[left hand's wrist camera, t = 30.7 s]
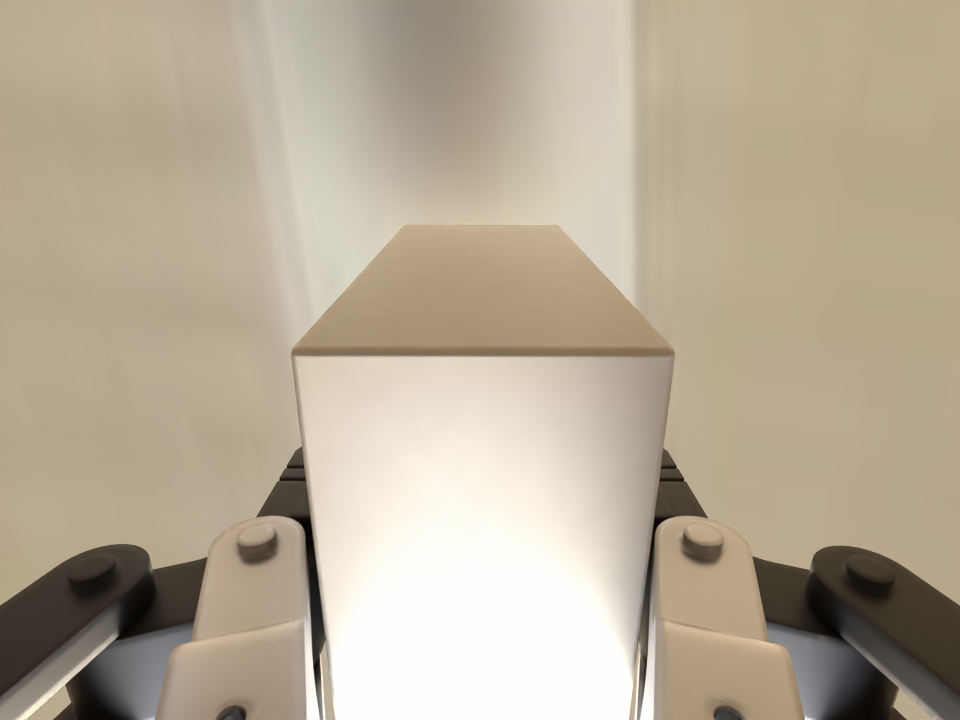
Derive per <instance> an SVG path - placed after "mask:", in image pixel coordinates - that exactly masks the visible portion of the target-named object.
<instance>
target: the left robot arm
mask: <svg viewBox="0 0 960 720" xmlns="http://www.w3.org/2000/svg"><path fill="white" fill-rule="evenodd" d="M324 642H325V631H324V623H323V615H322V606H321V598H320V590H319V582H318V573H317V565H316V557H315V549H314V540H313V532H312V524H311V516H310V508H309V499H308V491H307V483H306V475H305V466H304V458H303V450H302V447H301V448H299V449H298V450H296V451H295V453H294V455H293V456H292V458H291V460H290V461H289V463H288V465H287V469H285V470H284V471H283V473H282V475H281V476H280V481H278V482H277V483H276V485H275V487H274V488H273V490H272V492H271V493H270V495H269V497H268V498H267V500H266V502H265V503H264V505H263V507H262V508H261V510H260V512H259V513H258V515H257V517H256V518H252V519H249V520H246V521H243V522H241V523H238V524H236V525H234V526H232V527H230V528H229V529H227V530H226V531H224V532H223V533H222V534H221V535H219V536H218V537H217V538H216V539H215V541H214V542H213V543H212V545H211V547H210V549H209V552H208V557H206V558H203V559H200V560H196V561H192V562H187V563H182V564H178V565H173V566H168V567H163V568H159V569H154V570H153V569H152V565H151V561H150V557H149V555H148V553H147V552H146V551H145V550H144V549H142V548H141V547H138V546H135V545H129V544H116V545H108V546H103V547H99V548H95V549H92V550H89V551H86V552H83V553H81V554H79V555H76V556H74V557H72V558H70V559H68V560H66V561H65V562H63V563H61V564H60V565H58V566H57V567H55V568H54V569H52V570H51V571H50V572H48V573H47V574H45V575H44V576H42V577H41V578H39V579H38V580H37V581H35V582H34V583H32V584H31V585H29V586H28V587H27V588H25V589H24V590H22V591H21V592H19V593H18V594H16V595H15V596H14V597H12V598H11V599H9V600H8V601H6V602H5V603H4V604H2V605H1V606H0V720H26V719H27V718H28V717H29V716H30V715H31V714H33V713H34V712H35V711H36V710H37V709H38V708H39V707H40V706H41V705H43V704H44V703H45V702H46V701H47V700H48V699H49V698H50V697H51V696H53V695H54V694H55V693H56V692H57V691H58V690H59V689H60V688H61V687H63V686H64V685H66V688H67V691H68V694H69V697H70V700H71V704H70V705H68V706H67V707H66V708H65V709H64V710H63V711H62V712H61V713H60V714H59V715H58V716H57V717H56V718H55V719H54V720H325V709H324V691H323V674H322V663H321V655H320V654H321V652H322V649H323V646H324ZM639 643H640V646H641V647H640V655H639V663H638V674H637V691H636V709H635V720H906V719H905V718H904V717H903V716H902V715H901V714H900V713H899V712H898V711H897V710H896V709H895V708H894V707H893V705H894V703H895V700H896V697H897V694H898V691H899V688H900V689H901V690H902V691H903V692H904V693H905V694H906V695H908V696H909V697H910V698H911V699H912V700H913V701H914V702H915V703H916V704H917V705H919V706H920V707H921V708H922V709H923V710H924V711H925V712H926V713H927V714H929V715H930V716H931V717H932V718H933V719H934V720H960V606H959V605H958V604H956V603H955V602H954V601H952V600H951V599H949V598H948V597H946V596H945V595H944V594H942V593H941V592H939V591H938V590H936V589H935V588H933V587H932V586H931V585H929V584H928V583H926V582H925V581H923V580H922V579H921V578H919V577H918V576H916V575H915V574H913V573H912V572H910V571H909V570H908V569H906V568H905V567H903V566H901V565H900V564H898V563H897V562H895V561H893V560H891V559H889V558H887V557H885V556H882V555H880V554H877V553H875V552H872V551H869V550H865V549H861V548H856V547H851V546H831V547H826V548H823V549H821V550H819V551H818V552H816V554H815V555H814V557H813V559H812V563H811V567H810V570H807V569H802V568H797V567H793V566H788V565H783V564H778V563H774V562H770V561H766V560H762V559H759V558H756V557H753V556H752V552H751V549H750V547H749V545H748V543H747V542H746V541H745V539H744V538H743V537H742V536H741V535H739V534H738V533H737V532H736V531H734V530H733V529H731V528H730V527H728V526H726V525H724V524H722V523H719V522H717V521H714V520H711V519H708V517H707V516H706V514H705V512H704V511H703V509H702V507H701V506H700V504H699V502H698V501H697V499H696V498H695V496H694V494H693V493H692V491H691V489H690V488H689V486H688V484H687V483H686V482H684V478H683V476H682V474H681V473H680V471H679V469H677V466H676V464H675V463H674V461H673V459H672V458H671V456H670V454H669V453H668V451H666V450H665V449H664V448H663V454H662V461H661V469H660V477H659V485H658V492H657V500H656V508H655V516H654V524H653V531H652V539H651V547H650V555H649V562H648V570H647V578H646V586H645V593H644V601H643V609H642V617H641V625H640V632H639Z"/></svg>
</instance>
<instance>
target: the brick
mask: <svg viewBox="0 0 960 720" xmlns="http://www.w3.org/2000/svg"><path fill="white" fill-rule="evenodd" d="M291 359H292V368H293V376H294V384H295V392H296V401H297V409H298V417H299V425H300V433H301V442H302V450H303V458H304V466H305V475H306V483H307V491H308V499H309V508H310V516H311V524H312V532H313V540H314V549H315V557H316V565H317V573H318V582H319V590H320V598H321V606H322V615H323V623H324V631H325V639H326V647H327V656H328V664H329V672H330V680H331V689H332V697H333V705H334V713H335V720H628V718H629V710H630V702H631V694H632V687H633V679H634V671H635V663H636V656H637V648H638V640H639V632H640V625H641V617H642V609H643V601H644V593H645V586H646V578H647V570H648V562H649V555H650V547H651V539H652V531H653V524H654V516H655V508H656V500H657V492H658V485H659V477H660V469H661V461H662V454H663V446H664V438H665V430H666V423H667V415H668V407H669V399H670V391H671V384H672V376H673V368H674V360H675V352H674V349H673V348H672V347H671V346H670V345H669V344H668V343H667V341H666V340H665V339H664V338H663V337H662V336H661V335H660V334H659V333H658V332H657V331H656V330H655V329H654V328H653V327H652V325H651V324H650V323H649V322H648V321H647V320H646V319H645V318H644V317H643V316H642V315H641V314H640V313H639V312H638V310H637V309H636V308H635V307H634V306H633V305H632V304H631V303H630V302H629V301H628V300H627V299H626V298H625V297H624V295H623V294H622V293H621V292H620V291H619V290H618V289H617V288H616V287H615V286H614V285H613V284H612V283H611V282H610V281H609V279H608V278H607V277H606V276H605V275H604V274H603V273H602V272H601V271H600V270H599V269H598V268H597V267H596V266H595V264H594V263H593V262H592V261H591V260H590V259H589V258H588V257H587V256H586V255H585V254H584V253H583V252H582V251H581V249H580V248H579V247H578V246H577V245H576V244H575V243H574V242H573V241H572V240H571V239H570V238H569V237H568V236H567V235H566V233H565V232H564V231H563V230H562V229H561V228H560V227H559V226H557V225H405V226H403V227H402V229H401V230H400V231H399V232H398V233H397V234H396V235H395V236H394V237H393V238H392V240H391V241H390V242H389V243H388V244H387V245H386V246H385V247H384V248H383V249H382V251H381V252H380V253H379V254H378V255H377V256H376V257H375V258H374V259H373V260H372V262H371V263H370V264H369V265H368V266H367V267H366V268H365V269H364V270H363V271H362V273H361V274H360V275H359V276H358V277H357V278H356V279H355V280H354V281H353V283H352V284H351V285H350V286H349V287H348V288H347V289H346V290H345V291H344V292H343V294H342V295H341V296H340V297H339V298H338V299H337V300H336V301H335V302H334V303H333V305H332V306H331V307H330V308H329V309H328V310H327V311H326V312H325V313H324V314H323V316H322V317H321V318H320V319H319V320H318V321H317V322H316V323H315V324H314V325H313V327H312V328H311V329H310V330H309V331H308V332H307V333H306V334H305V335H304V336H303V338H302V339H301V340H300V341H299V342H298V343H297V344H296V345H295V346H294V347H293V349H292V352H291Z"/></svg>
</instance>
